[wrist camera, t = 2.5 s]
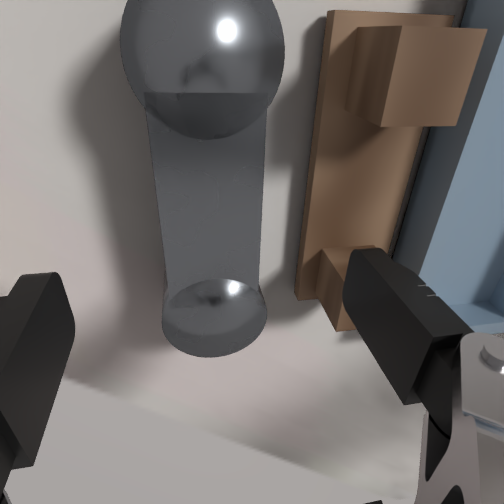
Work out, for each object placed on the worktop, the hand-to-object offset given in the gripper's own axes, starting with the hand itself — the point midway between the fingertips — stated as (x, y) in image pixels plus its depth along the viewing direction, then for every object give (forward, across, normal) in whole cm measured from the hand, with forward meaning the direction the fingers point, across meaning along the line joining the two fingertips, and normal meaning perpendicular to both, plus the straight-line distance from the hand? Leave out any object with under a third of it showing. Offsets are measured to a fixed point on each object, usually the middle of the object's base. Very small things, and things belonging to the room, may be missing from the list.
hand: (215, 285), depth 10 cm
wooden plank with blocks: (+8, -8, 0) cm, 11 cm away
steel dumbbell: (+8, 0, 0) cm, 8 cm away
